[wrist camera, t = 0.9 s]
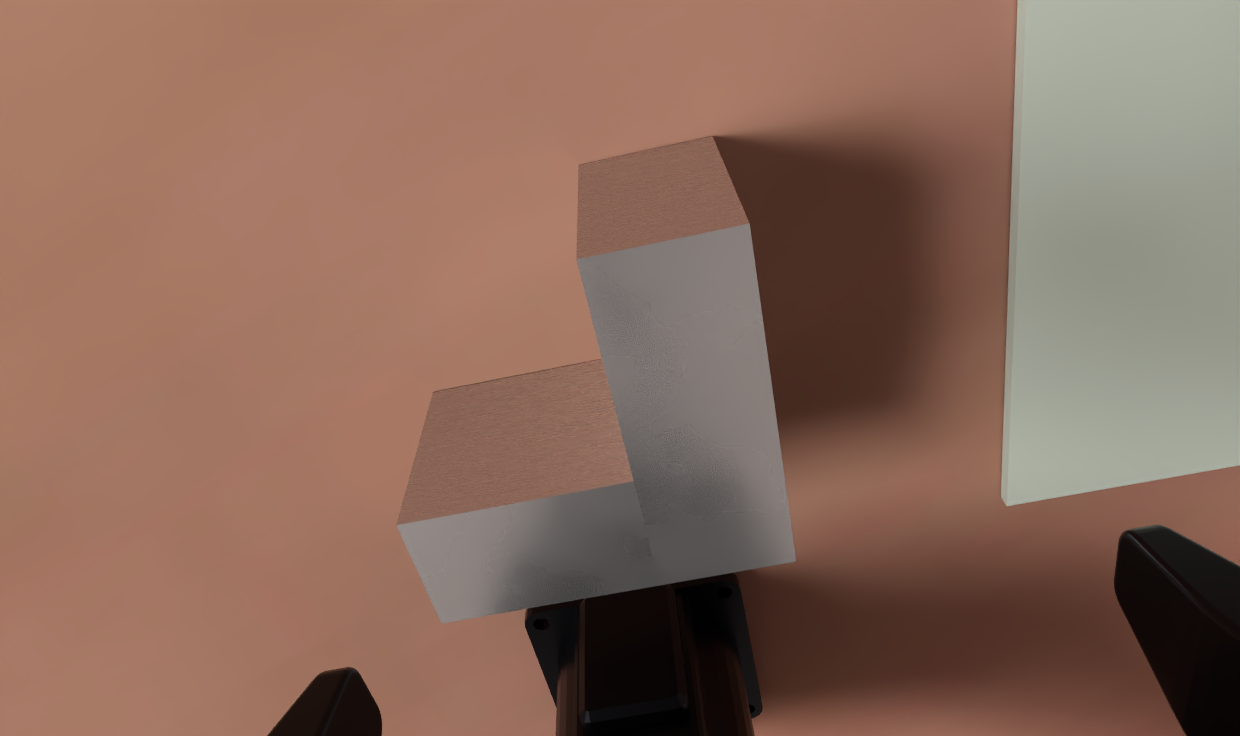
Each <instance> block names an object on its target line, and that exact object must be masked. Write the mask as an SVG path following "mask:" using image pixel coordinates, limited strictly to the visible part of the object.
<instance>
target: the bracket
mask: <svg viewBox="0 0 1240 736" xmlns="http://www.w3.org/2000/svg"><path fill="white" fill-rule="evenodd" d="M577 263H578V267H579V271H580V275H581V279H582V283H583V287H584V290H585V294H586V298H587V302H588V306H589V310H590V314H591V318H592V322H593V325H594V329H595V333H596V337H597V341H598V345H599V349H600V353H601V356H602V359H600V360H595V361H590V362H585V363H579V364H574V365H569V366H564V367H559V368H554V369H549V370H544V371H539V372H534V373H529V374H524V375H519V376H513V377H508V378H503V379H498V380H493V381H488V382H483V383H478V384H473V385H468V386H463V387H458V388H453V389H447V390H442V391H437V392H433V394H432V397H431V401H430V405H429V408H428V412H427V415H426V419H425V423H424V426H423V430H422V434H421V437H420V441H419V445H418V448H417V452H416V455H415V459H414V463H413V466H412V470H411V474H410V477H409V481H408V485H407V488H406V492H405V495H404V499H403V503H402V506H401V510H400V514H399V517H398V521H397V524H396V526H397V528H398V530H399V532H400V534H401V537H402V539H403V541H404V543H405V545H406V547H407V550H408V552H409V554H410V556H411V558H412V560H413V563H414V565H415V567H416V569H417V571H418V573H419V576H420V578H421V580H422V582H423V584H424V586H425V589H426V591H427V593H428V595H429V597H430V599H431V602H432V604H433V606H434V608H435V610H436V612H437V615H438V617H439V619H440V621H441V623H447V622H453V621H459V620H465V619H470V618H476V617H482V616H488V615H493V614H499V613H505V612H510V611H516V610H522V609H528V608H533V607H539V606H545V605H551V604H556V603H562V602H568V601H573V600H579V599H585V598H591V597H596V596H602V595H608V594H613V593H619V592H625V591H631V590H636V589H642V588H648V587H654V586H659V585H665V584H671V583H676V582H682V581H688V580H694V579H699V578H705V577H711V576H716V575H722V574H728V573H734V572H739V571H745V570H751V569H757V568H762V567H768V566H774V565H779V564H785V563H791V562H796V557H795V549H794V542H793V535H792V528H791V520H790V513H789V506H788V499H787V491H786V484H785V477H784V469H783V462H782V455H781V448H780V440H779V433H778V426H777V419H776V411H775V404H774V397H773V390H772V382H771V375H770V368H769V361H768V353H767V346H766V339H765V331H764V324H763V317H762V310H761V302H760V295H759V288H758V281H757V273H756V266H755V259H754V252H753V244H752V237H751V230H750V223H749V221H748V219H747V216H746V214H745V212H744V209H743V207H742V204H741V202H740V200H739V197H738V195H737V193H736V190H735V188H734V186H733V183H732V181H731V179H730V176H729V174H728V171H727V169H726V167H725V164H724V162H723V160H722V157H721V155H720V153H719V150H718V148H717V146H716V143H715V141H714V138H713V136H711V137H707V138H702V139H697V140H693V141H688V142H683V143H679V144H674V145H669V146H665V147H660V148H656V149H651V150H646V151H642V152H637V153H632V154H628V155H623V156H618V157H614V158H609V159H605V160H600V161H595V162H591V163H586V164H581V165H579V168H578V214H577Z"/></svg>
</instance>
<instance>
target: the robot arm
mask: <svg viewBox="0 0 1240 736" xmlns="http://www.w3.org/2000/svg"><path fill="white" fill-rule="evenodd" d="M720 587H726V588H724V589H718V588H720ZM1114 588H1115V593H1116V596H1117V599H1118V602H1119V604H1120V606H1121V608H1122V610H1123V612H1124V614H1125V616H1126V618H1127V620H1128V622H1129V624H1130V626H1131V628H1132V630H1133V632H1134V634H1135V636H1136V638H1137V640H1138V642H1139V644H1140V646H1141V648H1142V650H1143V652H1144V654H1145V656H1146V658H1147V660H1148V662H1149V664H1150V667H1151V669H1152V671H1153V673H1154V675H1155V677H1156V679H1157V681H1158V683H1159V685H1160V687H1161V689H1162V691H1163V693H1164V695H1165V697H1166V699H1167V701H1168V703H1169V705H1170V707H1171V709H1172V711H1173V712H1174V714H1175V716H1176V718H1177V720H1178V722H1179V724H1180V726H1181V728H1182V729H1183V731H1184V733H1185V734H1186V736H1240V566H1239V565H1237V564H1235V563H1233V562H1231V561H1229V560H1227V559H1226V558H1224V557H1222V556H1220V555H1218V554H1216V553H1214V552H1213V551H1211V550H1209V549H1207V548H1205V547H1203V546H1201V545H1200V544H1198V543H1196V542H1194V541H1192V540H1190V539H1188V538H1186V537H1185V536H1183V535H1181V534H1179V533H1177V532H1175V531H1173V530H1172V529H1170V528H1167V527H1165V526H1161V525H1152V526H1146V527H1140V528H1135V529H1129V530H1126V531H1124V532H1123V533H1122V534H1121V536H1120V538H1119V543H1118V552H1117V560H1116V568H1115V576H1114ZM539 618H544V619H545V620H539ZM525 628H526V630H527V633H528V635H529V638H530V640H531V643H532V646H533V648H534V651H535V653H536V656H537V658H538V661H539V664H540V666H541V669H542V671H543V674H544V677H545V679H546V682H547V684H548V687H549V689H550V692H551V695H552V697H553V700H554V702H555V705H556V707H557V715H556V736H755V735H754V730H753V724H752V719H751V718H755V717H756V716H758V715H759V714H760V713H761V712H762V702H761V696H760V691H759V686H758V681H757V675H756V670H755V665H754V659H753V654H752V649H751V644H750V638H749V633H748V628H747V623H746V617H745V612H744V607H743V601H742V596H741V591H740V586H739V581H738V578H737V576H736V575H735V574H733V573H728V574H722V575H716V576H711V577H705V578H699V579H694V580H688V581H682V582H676V583H671V584H665V585H659V586H654V587H648V588H642V589H636V590H631V591H625V592H619V593H613V594H608V595H602V596H596V597H591V598H585V599H579V600H573V601H568V602H562V603H556V604H551V605H545V606H539V607H533V608H528V609H527V610H526V614H525ZM267 736H382V719H381V714H380V710H379V708H378V706H377V704H376V702H375V700H374V698H373V697H372V695H371V693H370V691H369V689H368V688H367V686H366V684H365V682H364V681H363V679H362V677H361V675H360V674H359V672H358V671H357V670H356V669H354V668H352V667H346V668H340V669H335V670H329V671H324V672H322V673H320V674H319V675H318V676H316V677H315V679H314V680H313V681H312V682H311V683H310V684H309V686H308V687H307V688H306V689H305V691H304V692H303V693H302V694H301V695H300V697H299V698H298V699H297V700H296V701H295V703H294V704H293V705H292V706H291V707H290V709H289V710H288V711H287V712H286V714H285V715H284V716H283V717H282V718H281V720H280V721H279V722H278V723H277V724H276V726H275V727H274V728H273V729H272V731H271V732H270V733H269V734H268V735H267Z"/></svg>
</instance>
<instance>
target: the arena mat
mask: <svg viewBox="0 0 1240 736" xmlns="http://www.w3.org/2000/svg"><path fill="white" fill-rule="evenodd" d="M1238 465H1240V0H1018V7H1017V37H1016V66H1015V96H1014V126H1013V155H1012V185H1011V214H1010V244H1009V274H1008V303H1007V333H1006V362H1005V392H1004V422H1003V451H1002V481H1001V498H1002V499H1003V501H1004V503H1005V504H1006V506H1011V505H1017V504H1023V503H1028V502H1034V501H1040V500H1045V499H1051V498H1057V497H1062V496H1068V495H1074V494H1079V493H1085V492H1091V491H1096V490H1102V489H1108V488H1113V487H1119V486H1125V485H1130V484H1136V483H1142V482H1147V481H1153V480H1159V479H1165V478H1170V477H1176V476H1182V475H1187V474H1193V473H1199V472H1204V471H1210V470H1216V469H1221V468H1227V467H1233V466H1238Z"/></svg>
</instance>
